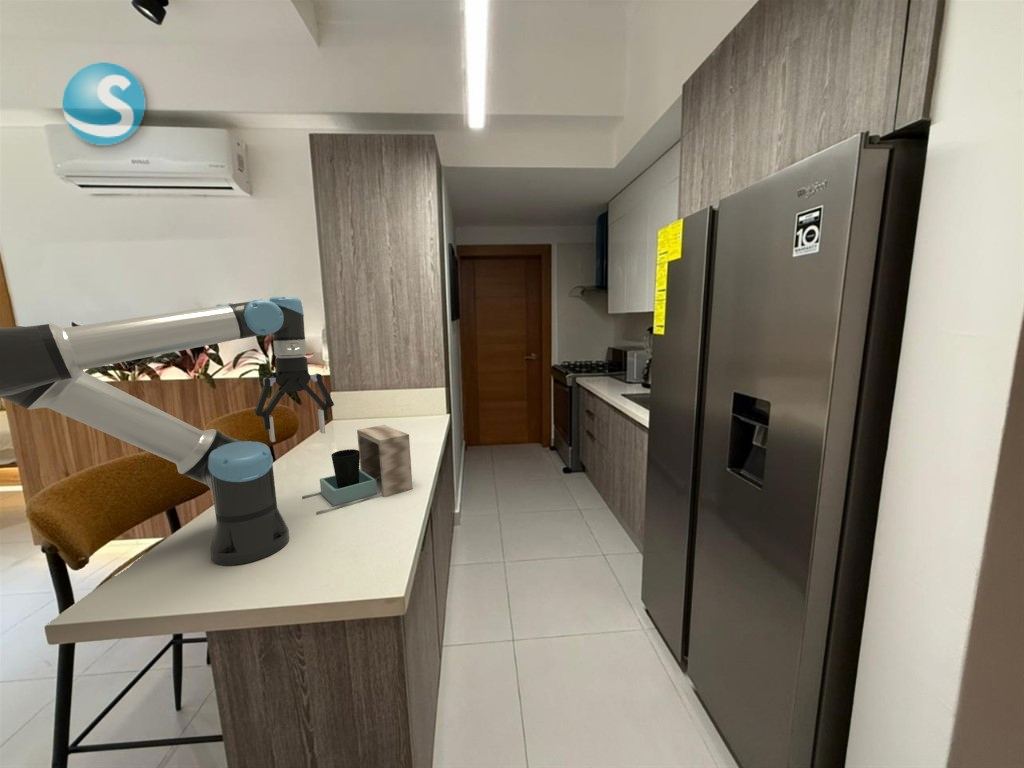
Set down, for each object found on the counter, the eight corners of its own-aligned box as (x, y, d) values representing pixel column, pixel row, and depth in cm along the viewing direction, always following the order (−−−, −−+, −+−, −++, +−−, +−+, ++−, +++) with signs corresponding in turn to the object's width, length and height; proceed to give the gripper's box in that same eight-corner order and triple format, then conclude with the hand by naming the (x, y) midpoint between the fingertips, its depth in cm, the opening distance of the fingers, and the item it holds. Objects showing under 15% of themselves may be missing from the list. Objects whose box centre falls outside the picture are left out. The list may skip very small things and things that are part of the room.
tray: (335, 507, 115) (333, 491, 114) (321, 494, 125) (319, 478, 124) (377, 495, 123) (376, 479, 122) (361, 483, 132) (359, 469, 132)
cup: (353, 498, 119) (349, 457, 117) (329, 496, 121) (325, 456, 119) (367, 487, 127) (364, 449, 125) (345, 486, 128) (341, 448, 126)
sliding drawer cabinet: (318, 516, 110) (312, 454, 108) (300, 496, 124) (295, 440, 121) (412, 488, 127) (409, 434, 125) (387, 474, 141) (384, 424, 138)
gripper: (239, 360, 100) (249, 448, 103) (342, 354, 115) (348, 431, 118) (235, 359, 106) (244, 442, 109) (333, 353, 121) (339, 426, 124)
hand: (298, 436), depth 113 cm, fingers open, 12 cm apart
